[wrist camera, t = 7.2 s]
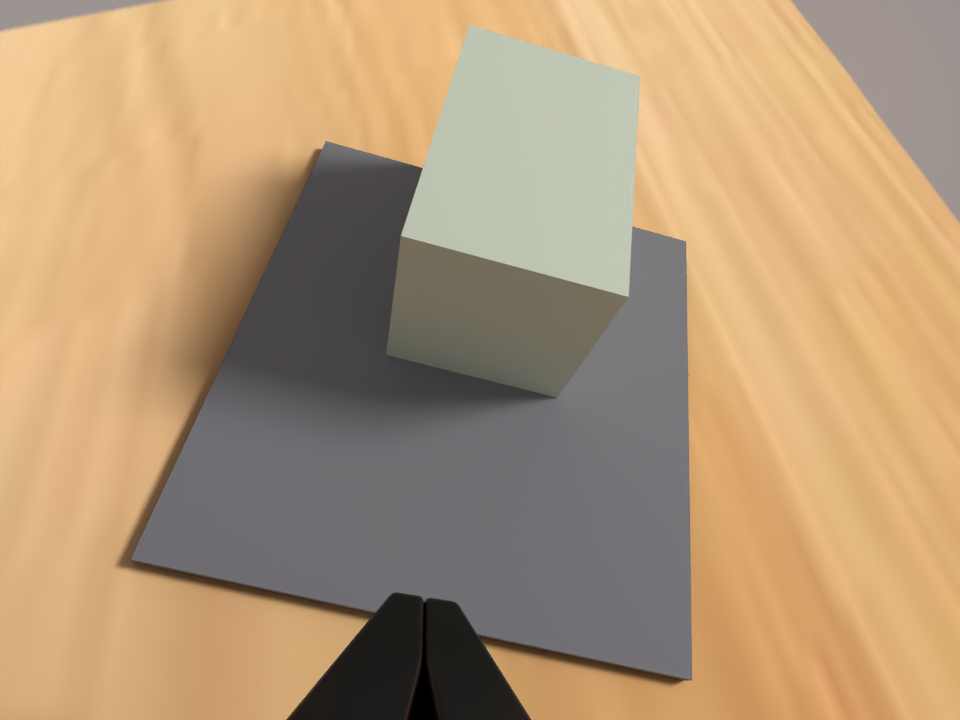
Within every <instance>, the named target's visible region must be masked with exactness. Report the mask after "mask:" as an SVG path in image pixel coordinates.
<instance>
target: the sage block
mask: <svg viewBox="0 0 960 720" xmlns="http://www.w3.org/2000/svg"><path fill="white" fill-rule="evenodd" d="M639 84H640V76H637V75H634V74H631V73H627V72H624V71H621V70H618V69H614V68H611V67H608V66H604V65H601V64H598V63H594V62H591V61H588V60H584V59H581V58H578V57H574V56H571V55H568V54H564V53H561V52H558V51H554V50H551V49H548V48H544V47H541V46H538V45H534V44H531V43H528V42H524V41H521V40H518V39H514V38H511V37H508V36H504V35H501V34H498V33H494V32H491V31H488V30H484V29H481V28H478V27H474V26H471V25H469V28H468V31H467V34H466V37H465V40H464V43H463V47H462V50H461V53H460V56H459V59H458V62H457V65H456V68H455V71H454V74H453V77H452V80H451V83H450V86H449V90H448V93H447V96H446V99H445V102H444V105H443V108H442V111H441V114H440V117H439V120H438V123H437V126H436V130H435V133H434V136H433V139H432V142H431V145H430V148H429V151H428V154H427V157H426V160H425V163H424V166H423V169H422V173H421V176H420V179H419V182H418V185H417V188H416V191H415V194H414V197H413V200H412V203H411V206H410V209H409V212H408V216H407V219H406V222H405V225H404V228H403V231H402V234H401V239H400V247H399V255H398V263H397V271H396V279H395V287H394V295H393V303H392V311H391V319H390V328H389V336H388V344H387V352H386V355H388V356H392V357H396V358H400V359H404V360H408V361H412V362H416V363H420V364H424V365H428V366H432V367H436V368H440V369H444V370H448V371H452V372H456V373H460V374H464V375H468V376H472V377H476V378H480V379H484V380H488V381H492V382H496V383H500V384H504V385H508V386H512V387H516V388H520V389H524V390H528V391H532V392H536V393H540V394H544V395H548V396H552V397H556V398H558V396H559V395H560V394H561V392H562V391H563V389H564V388H565V386H566V385H567V384H568V382H569V381H570V379H571V378H572V377H573V375H574V374H575V372H576V371H577V369H578V368H579V367H580V365H581V364H582V362H583V361H584V360H585V358H586V357H587V355H588V354H589V352H590V351H591V350H592V348H593V347H594V345H595V344H596V343H597V341H598V340H599V338H600V337H601V335H602V334H603V333H604V331H605V330H606V328H607V327H608V326H609V324H610V323H611V321H612V320H613V318H614V317H615V316H616V314H617V313H618V311H619V310H620V309H621V307H622V306H623V304H624V303H625V301H626V300H627V299H628V297H629V281H630V261H631V242H632V222H633V202H634V182H635V163H636V143H637V123H638V103H639Z"/></svg>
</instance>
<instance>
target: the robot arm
mask: <svg viewBox="0 0 960 720" xmlns="http://www.w3.org/2000/svg"><path fill="white" fill-rule="evenodd" d="M286 720H531V719H530V717H529V715H528V714H527V712H526V711H525V709H524V708H523V706H522V704H521V703H520V701H519V700H518V698H517V696H516V695H515V693H514V692H513V690H512V689H511V687H510V685H509V684H508V682H507V681H506V679H505V677H504V676H503V674H502V673H501V671H500V669H499V668H498V666H497V665H496V663H495V662H494V660H493V658H492V657H491V655H490V654H489V652H488V650H487V649H486V647H485V646H484V644H483V643H482V641H481V639H480V638H479V636H478V635H477V633H476V631H475V630H474V628H473V627H472V625H471V623H470V622H469V620H468V619H467V617H466V616H465V614H464V612H463V611H462V609H461V608H460V606H459V605H458V604H457V603H456V602H454V601H449V600H442V599H436V598H427V599H426V600H425V602H424V600H423V598H422V597H421V596H417V595H411V594H405V593H399V592H394V593H392V594H391V595H390V596H389V597H388V598H387V599H386V600H385V602H384V603H383V604H382V605H381V606H380V608H379V609H378V610H377V611H376V612H375V614H374V615H373V616H372V617H371V618H370V620H369V621H368V622H367V623H366V624H365V626H364V627H363V628H362V629H361V630H360V632H359V633H358V634H357V635H356V636H355V638H354V639H353V640H352V641H351V642H350V644H349V645H348V646H347V647H346V648H345V650H344V651H343V652H342V653H341V654H340V656H339V657H338V658H337V659H336V660H335V662H334V663H333V664H332V665H331V666H330V668H329V669H328V670H327V671H326V672H325V674H324V675H323V676H322V677H321V679H320V680H319V681H318V682H317V683H316V685H315V686H314V687H313V688H312V689H311V691H310V692H309V693H308V694H307V695H306V697H305V698H304V699H303V700H302V701H301V703H300V704H299V705H298V706H297V707H296V709H295V710H294V711H293V712H292V713H291V715H290V716H289V717H288V718H287V719H286Z"/></svg>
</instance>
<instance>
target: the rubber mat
mask: <svg viewBox="0 0 960 720" xmlns="http://www.w3.org/2000/svg"><path fill="white" fill-rule="evenodd" d="M422 169H423V168H420V167H417V166H413V165H409V164H406V163H402V162H399V161H395V160H392V159H388V158H384V157H381V156H377V155H374V154H370V153H366V152H363V151H359V150H356V149H352V148H348V147H345V146H341V145H338V144H334V143H331V142H327V141H326V142H325V144H324V146H323V149H322V151H321V153H320V155H319V157H318V159H317V161H316V164H315V166H314V168H313V170H312V172H311V174H310V176H309V179H308V181H307V183H306V185H305V187H304V189H303V191H302V194H301V196H300V198H299V200H298V202H297V204H296V206H295V209H294V211H293V213H292V215H291V217H290V219H289V221H288V223H287V226H286V228H285V230H284V232H283V234H282V236H281V238H280V241H279V243H278V245H277V247H276V249H275V251H274V253H273V256H272V258H271V260H270V262H269V264H268V266H267V268H266V271H265V273H264V275H263V277H262V279H261V281H260V283H259V286H258V288H257V290H256V292H255V294H254V296H253V298H252V301H251V303H250V305H249V307H248V309H247V311H246V313H245V316H244V318H243V320H242V322H241V324H240V326H239V328H238V331H237V333H236V335H235V337H234V339H233V341H232V343H231V345H230V348H229V350H228V352H227V354H226V356H225V358H224V360H223V363H222V365H221V367H220V369H219V371H218V373H217V375H216V378H215V380H214V382H213V384H212V386H211V388H210V390H209V393H208V395H207V397H206V399H205V401H204V403H203V405H202V408H201V410H200V412H199V414H198V416H197V418H196V420H195V423H194V425H193V427H192V429H191V431H190V433H189V435H188V438H187V440H186V442H185V444H184V446H183V448H182V450H181V452H180V455H179V457H178V459H177V461H176V463H175V465H174V467H173V470H172V472H171V474H170V476H169V478H168V480H167V482H166V485H165V487H164V489H163V491H162V493H161V495H160V497H159V500H158V502H157V504H156V506H155V508H154V510H153V512H152V515H151V517H150V519H149V521H148V523H147V525H146V527H145V530H144V532H143V534H142V536H141V538H140V540H139V542H138V545H137V547H136V549H135V551H134V553H133V555H132V557H131V560H132V561H134V562H136V563H141V564H146V565H150V566H155V567H159V568H164V569H169V570H173V571H178V572H183V573H187V574H192V575H197V576H201V577H206V578H211V579H215V580H220V581H225V582H229V583H234V584H239V585H243V586H248V587H253V588H257V589H262V590H267V591H271V592H276V593H281V594H285V595H290V596H295V597H299V598H304V599H309V600H313V601H318V602H323V603H327V604H332V605H336V606H341V607H346V608H350V609H355V610H360V611H364V612H369V613H374V614H375V612H376V611H377V610H378V609H379V608H380V606H381V605H382V604H383V603H384V602H385V600H386V599H387V598H388V597H389V596H390V595H391V594H392V593H394V592H399V593H405V594H411V595H417V596H421V597H422V598H423V600H424V602H425V600H426V599H427V598H436V599H442V600H449V601H454V602H456V603H457V604H458V605H459V606H460V608H461V609H462V611H463V612H464V614H465V616H466V617H467V619H468V620H469V622H470V623H471V625H472V627H473V628H474V630H475V631H476V633H477V635H478V636H481V637H486V638H490V639H495V640H500V641H504V642H509V643H513V644H518V645H523V646H527V647H532V648H537V649H541V650H546V651H551V652H555V653H560V654H565V655H569V656H574V657H579V658H583V659H588V660H593V661H597V662H602V663H607V664H611V665H616V666H621V667H625V668H630V669H635V670H639V671H644V672H649V673H653V674H658V675H663V676H667V677H672V678H677V679H681V680H692V639H691V566H690V494H689V421H688V348H687V275H686V241H682V240H679V239H675V238H672V237H668V236H664V235H661V234H657V233H654V232H650V231H646V230H643V229H639V228H636V227H632V242H631V261H630V281H629V297H628V299H627V300H626V301H625V303H624V304H623V306H622V307H621V309H620V310H619V311H618V313H617V314H616V316H615V317H614V318H613V320H612V321H611V323H610V324H609V326H608V327H607V328H606V330H605V331H604V333H603V334H602V335H601V337H600V338H599V340H598V341H597V343H596V344H595V345H594V347H593V348H592V350H591V351H590V352H589V354H588V355H587V357H586V358H585V360H584V361H583V362H582V364H581V365H580V367H579V368H578V369H577V371H576V372H575V374H574V375H573V377H572V378H571V379H570V381H569V382H568V384H567V385H566V386H565V388H564V389H563V391H562V392H561V394H560V395H559V396H558V398H556V397H552V396H548V395H544V394H540V393H536V392H532V391H528V390H524V389H520V388H516V387H512V386H508V385H504V384H500V383H496V382H492V381H488V380H484V379H480V378H476V377H472V376H468V375H464V374H460V373H456V372H452V371H448V370H444V369H440V368H436V367H432V366H428V365H424V364H420V363H416V362H412V361H408V360H404V359H400V358H396V357H392V356H388V355H386V352H387V344H388V336H389V328H390V319H391V311H392V303H393V295H394V287H395V279H396V271H397V263H398V255H399V247H400V239H401V234H402V231H403V228H404V225H405V222H406V219H407V216H408V212H409V209H410V206H411V203H412V200H413V197H414V194H415V191H416V188H417V185H418V182H419V179H420V176H421V173H422Z"/></svg>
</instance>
